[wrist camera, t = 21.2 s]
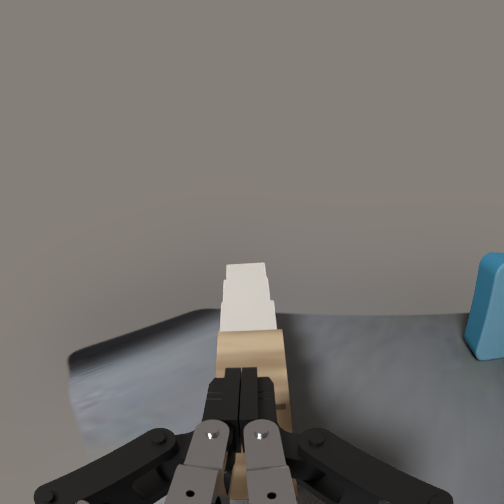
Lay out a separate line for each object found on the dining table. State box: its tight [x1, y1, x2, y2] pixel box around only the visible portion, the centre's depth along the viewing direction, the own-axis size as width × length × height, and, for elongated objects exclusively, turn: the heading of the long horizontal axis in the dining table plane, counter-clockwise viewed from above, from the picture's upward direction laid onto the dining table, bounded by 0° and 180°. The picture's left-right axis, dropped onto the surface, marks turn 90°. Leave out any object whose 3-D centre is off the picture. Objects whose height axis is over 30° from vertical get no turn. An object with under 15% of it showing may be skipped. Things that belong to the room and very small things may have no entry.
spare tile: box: [216, 329, 298, 500], centre depth 18 cm, size 2×5×13 cm
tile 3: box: [223, 277, 270, 302], centre depth 29 cm, size 2×5×13 cm
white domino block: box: [226, 263, 266, 280], centre depth 34 cm, size 2×5×13 cm
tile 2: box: [220, 300, 277, 331], centre depth 23 cm, size 2×5×13 cm
